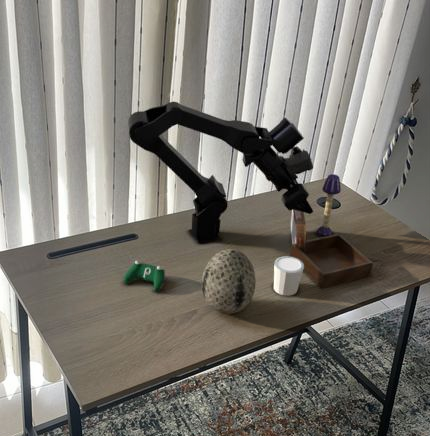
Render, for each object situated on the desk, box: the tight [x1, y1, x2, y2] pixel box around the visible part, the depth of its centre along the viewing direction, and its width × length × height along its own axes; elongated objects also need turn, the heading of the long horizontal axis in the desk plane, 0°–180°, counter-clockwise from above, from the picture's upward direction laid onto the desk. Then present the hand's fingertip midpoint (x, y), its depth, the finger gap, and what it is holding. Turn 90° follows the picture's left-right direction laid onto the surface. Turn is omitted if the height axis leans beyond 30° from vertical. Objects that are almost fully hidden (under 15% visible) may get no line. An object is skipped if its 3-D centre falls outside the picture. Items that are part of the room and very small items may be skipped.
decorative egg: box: [201, 248, 257, 315], centre depth 146 cm, size 12×12×15 cm
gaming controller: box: [122, 260, 166, 293], centre depth 156 cm, size 9×4×6 cm
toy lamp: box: [315, 173, 342, 238], centre depth 176 cm, size 5×5×17 cm
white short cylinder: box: [273, 255, 304, 297], centre depth 157 cm, size 7×7×7 cm
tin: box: [290, 209, 307, 252], centre depth 173 cm, size 15×3×8 cm, turn 179°
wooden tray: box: [289, 233, 374, 289], centre depth 167 cm, size 14×14×4 cm
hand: (307, 203), depth 174 cm, fingers open, 9 cm apart
